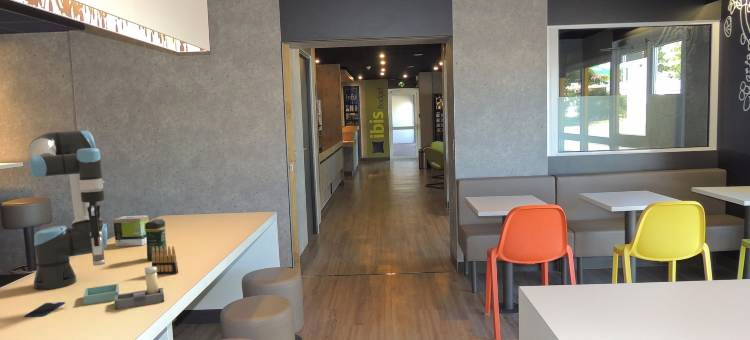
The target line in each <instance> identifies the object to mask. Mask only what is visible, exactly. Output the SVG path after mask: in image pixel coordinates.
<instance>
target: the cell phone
mask: <svg viewBox="0 0 750 340" xmlns="http://www.w3.org/2000/svg"><path fill="white" fill-rule="evenodd" d="M65 304H66V301H58V302H55V301H54V302H45V303H43V304H41V305H39V306H38V307H36V308H34V309H33V310H32V311H29V312H27V313H26V314H25V315H23V318H36V317H37V318H38V317H39V318H40V317H41V318H42V317H46V316H47V315H49V314H50V313H53V312H54V311H55V310H57V309H59V308H60V307H62V306H63V305H65Z"/></svg>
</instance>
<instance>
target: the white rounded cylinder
mask: <svg viewBox="0 0 750 340" xmlns="http://www.w3.org/2000/svg"><path fill="white" fill-rule="evenodd" d="M144 274H145V284H146V290H147V295H151V294H157V293H159V292H158V288H159V281H158V275H157V267H155V266H152V265H151V266H147V267H145V268H144Z"/></svg>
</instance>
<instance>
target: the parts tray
mask: <svg viewBox="0 0 750 340" xmlns="http://www.w3.org/2000/svg"><path fill="white" fill-rule="evenodd" d="M117 294H120V286H119V283H115V284H108V285H99V286H92V287H86V288H85V291H84V294H83V295H82V296H83V304H84V306H86V305H93V304H101V303H107V302H115V295H117Z"/></svg>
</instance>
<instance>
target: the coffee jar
mask: <svg viewBox="0 0 750 340" xmlns="http://www.w3.org/2000/svg"><path fill="white" fill-rule="evenodd" d="M145 231H146V238H147V243H146V258H147V260H149V261H152V247H154V249H155V255H156V247H158V250H159V255H160V247H162V250H163V255H164V246H165V247H166V250H167V251H168V247H167V240H166V239H167V238H166V221H165V220H164V219H162V218H154V219H151V220H149V222H147V223H146V224H145Z"/></svg>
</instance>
